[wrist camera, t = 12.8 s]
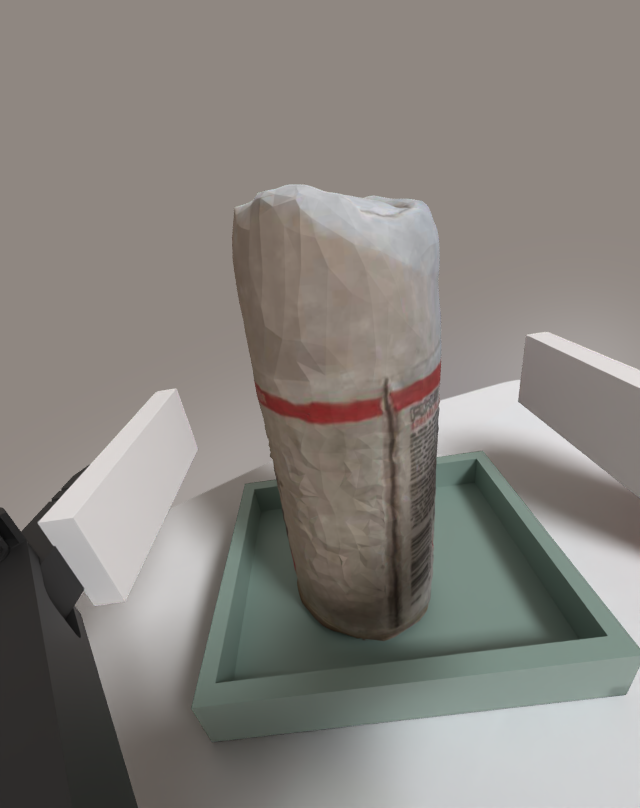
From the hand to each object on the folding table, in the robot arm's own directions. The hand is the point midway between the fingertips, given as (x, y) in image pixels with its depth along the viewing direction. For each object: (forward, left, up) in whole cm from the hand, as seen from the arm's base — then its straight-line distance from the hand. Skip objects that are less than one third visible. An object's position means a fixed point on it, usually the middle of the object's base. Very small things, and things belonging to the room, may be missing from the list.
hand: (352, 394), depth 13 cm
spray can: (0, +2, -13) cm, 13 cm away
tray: (+1, +2, -14) cm, 14 cm away
